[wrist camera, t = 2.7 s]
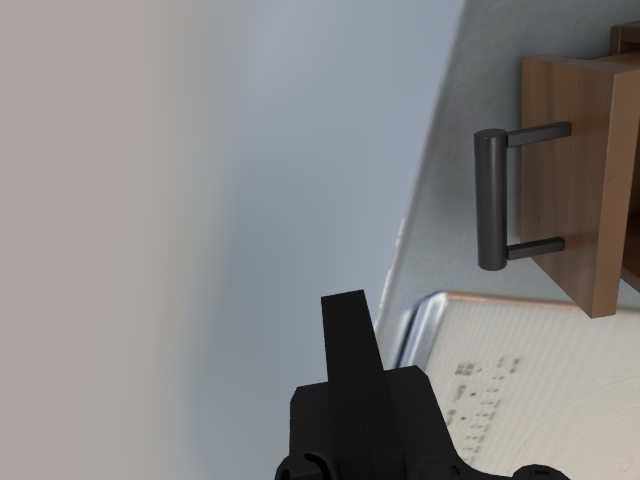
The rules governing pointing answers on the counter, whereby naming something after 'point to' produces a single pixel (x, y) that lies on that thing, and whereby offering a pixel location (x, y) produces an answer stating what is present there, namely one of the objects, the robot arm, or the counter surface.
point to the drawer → (569, 178)
